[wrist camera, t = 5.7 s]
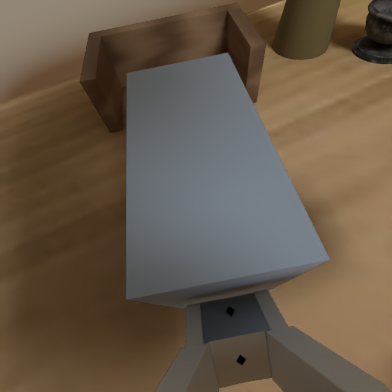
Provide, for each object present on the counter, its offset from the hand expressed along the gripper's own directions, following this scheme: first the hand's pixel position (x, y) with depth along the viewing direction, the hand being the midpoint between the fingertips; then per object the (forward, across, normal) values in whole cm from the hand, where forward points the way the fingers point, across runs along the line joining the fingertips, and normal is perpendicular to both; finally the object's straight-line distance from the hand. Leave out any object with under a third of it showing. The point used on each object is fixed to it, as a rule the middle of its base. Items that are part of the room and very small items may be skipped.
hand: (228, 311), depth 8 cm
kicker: (+7, 0, -1) cm, 7 cm away
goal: (+18, 0, -11) cm, 21 cm away
